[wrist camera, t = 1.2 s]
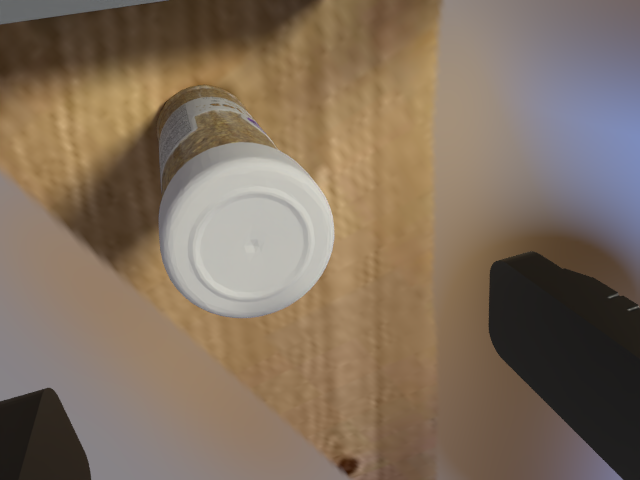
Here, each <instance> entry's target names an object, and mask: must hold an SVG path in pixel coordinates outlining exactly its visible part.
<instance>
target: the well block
mask: <svg viewBox="0 0 640 480" xmlns="http://www.w3.org/2000/svg"><path fill="white" fill-rule="evenodd" d="M160 1H167V0H0V24H7V23H14V22H21V21H28V20H35V19H42V18H49V17H56V16H62V15H69V14H76V13H83V12H90V11H97V10H104V9H111V8H118V7H125V6H132V5H139V4H146V3H153V2H160Z"/></svg>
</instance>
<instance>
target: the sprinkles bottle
mask: <svg viewBox="0 0 640 480" xmlns="http://www.w3.org/2000/svg"><path fill="white" fill-rule="evenodd" d="M157 139H158V142H159V163H160V177H161V192H162V201H161V204H160V210H159V240H160V250H161V255H162V260H163V264H164V266H165V269H166V271H167V273H168V276H169V278H170V280H171V281H172V283H173V284H174V285H175V287H176V288H177V289H178V290H179V291H180V293H181V294H182V295H183V296H184V297H185V298H186V299H188V300H189V301H190V302H192V303H193V304H195V305H196V306H198V307H200V308H202V309H204V310H206V311H208V312H210V313H214V314H217V315H220V316H225V317H232V318H252V317H259V316H263V315H267V314H271V313H274V312H276V311H279V310H281V309H284V308H286V307H287V306H289V305H291V304H292V303H294V302H295V301H297V300H298V299H300V298H301V297H302V296H304V295H305V294H306V293H307V292H308V291H309V290H310V289H311V288H312V287H313V286H314V284H315V283H316V282H317V281H318V279H319V278H320V276H321V275H322V273H323V272H324V270H325V268H326V266H327V264H328V261H329V259H330V256H331V252H332V249H333V243H334V223H333V216H332V212H331V209H330V206H329V204H328V201H327V199H326V197H325V195H324V194H323V192H322V191H321V189H320V188H319V186H318V185H317V184H316V183H315V181H314V180H313V179H312V178H311V176H310V175H309V174H308V173H307V172H306V171H305V170H304V169H303V168H302V167H301V166H300V165H299V164H298V163H297V162H296V161H295V160H294V159H292V158H291V157H289V156H288V155H286V154H284V153H283V152H281V151H279V150H278V149H277V147H276V146H275V144H274V143H273V141H272V140H271V139H270V138H269V137H268V136H267V134H266V133H265V132H264V131H263V130H262V129H261V127H260V126H259V125H258V124H257V122H256V121H255V120H254V119H253V117H252V116H251V115H250V114H249V113H248V111H247V109H246V107H245V106H244V105H243V104H242V103H241V102H240V101H239V100H238V98H237V97H236V96H234V95H233V94H231V93H230V92H228V91H226V90H224V89H221V88H218V87H214V86H209V85H198V86H192V87H189V88H187V89H184V90H181V91H180V92H178V93H177V94H175V95H174V96H173V97H172V98H170V99H169V100H168V101H167V102H166V104H165V106H164V108H163V109H162V111H161V112H160V115H159V118H158V122H157Z"/></svg>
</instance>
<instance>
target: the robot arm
mask: <svg viewBox="0 0 640 480" xmlns="http://www.w3.org/2000/svg"><path fill="white" fill-rule="evenodd" d="M489 294H490V295H489V333H490V337H491V340H492V343H493V345H494V347H495V349H496V351H497V353H498V354H499V356H500V357H501V358H502V359H503V360H504V361H505V362H506V363H507V364H508V365H509V366H510V367H511V368H512V369H513V370H514V371H515V372H516V373H517V374H518V375H519V376H520V377H521V378H522V379H523V380H524V381H525V382H526V383H527V384H528V385H529V386H530V387H531V388H532V389H533V390H534V391H535V392H536V393H537V394H538V395H539V396H540V397H541V398H542V399H543V400H544V401H545V402H546V403H547V404H548V405H549V406H550V407H551V408H552V409H553V410H554V411H555V412H556V413H557V414H558V415H559V416H560V417H561V418H562V419H563V420H564V421H565V422H566V423H567V424H568V425H569V426H570V427H571V428H572V429H573V430H574V431H575V432H576V433H577V434H578V435H579V436H580V437H581V438H582V439H583V440H584V441H585V442H586V443H587V444H588V445H589V446H590V447H591V448H592V449H593V450H594V451H595V452H596V453H597V454H598V455H599V456H600V457H601V458H602V459H603V460H604V461H605V462H606V463H607V464H608V465H609V466H610V467H611V468H612V469H613V470H614V471H615V472H616V473H617V474H618V475H619V476H620V477H621V478H622V479H623V480H640V308H639V307H638V304H636V303H634V302H633V301H631V300H629V299H628V298H626V297H624V296H619V295H618V292H616V291H614V290H613V289H611V288H609V287H608V286H606V285H605V284H603V283H601V282H600V281H598V280H596V279H595V278H592V277H589V276H586V275H583V274H580V273H577V272H574V271H571V270H567V269H562V268H560V267H559V266H557V265H556V264H554V263H553V262H551V261H550V260H548V259H546V258H545V257H543V256H541V255H540V254H538V253H536V252H527V253H523V254H520V255H516V256H513V257H509V258H506V259H503V260H499V261H496V262H494V263H493V265H492V266H491V270H490V293H489ZM0 480H91V474H90V468H89V463H88V460H87V457H86V454H85V451H84V450H83V447H82V445H81V443H80V441H79V439H78V437H77V435H76V433H75V431H74V429H73V426H72V424H71V422H70V420H69V418H68V416H67V414H66V412H65V410H64V408H63V405H62V403H61V401H60V400H59V397H58V395H57V394H56V393H55V391H54V390H53V389H51V388H46V389H42V390H39V391H36V392H32V393H28V394H25V395H22V396H18V397H14V398H11V399H8V400H4V401H0Z"/></svg>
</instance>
